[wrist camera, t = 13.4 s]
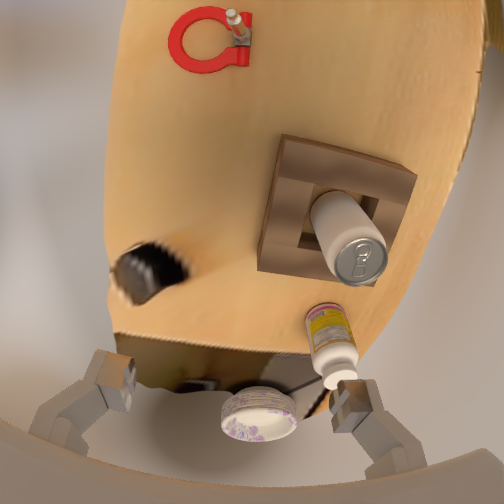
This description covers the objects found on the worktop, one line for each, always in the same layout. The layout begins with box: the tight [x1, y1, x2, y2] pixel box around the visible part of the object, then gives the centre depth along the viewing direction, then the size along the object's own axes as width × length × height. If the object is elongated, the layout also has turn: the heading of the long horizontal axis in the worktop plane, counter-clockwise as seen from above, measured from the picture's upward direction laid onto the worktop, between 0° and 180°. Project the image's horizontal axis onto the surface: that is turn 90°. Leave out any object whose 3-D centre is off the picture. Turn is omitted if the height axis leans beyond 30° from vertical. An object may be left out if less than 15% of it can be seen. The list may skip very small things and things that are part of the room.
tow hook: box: [168, 6, 252, 73], centre depth 22 cm, size 8×13×9 cm
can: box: [310, 191, 388, 287], centre depth 33 cm, size 6×6×12 cm
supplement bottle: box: [305, 303, 359, 390], centre depth 42 cm, size 7×7×13 cm
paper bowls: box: [221, 386, 297, 442], centre depth 56 cm, size 15×15×8 cm
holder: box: [257, 134, 417, 287], centre depth 36 cm, size 16×16×4 cm
